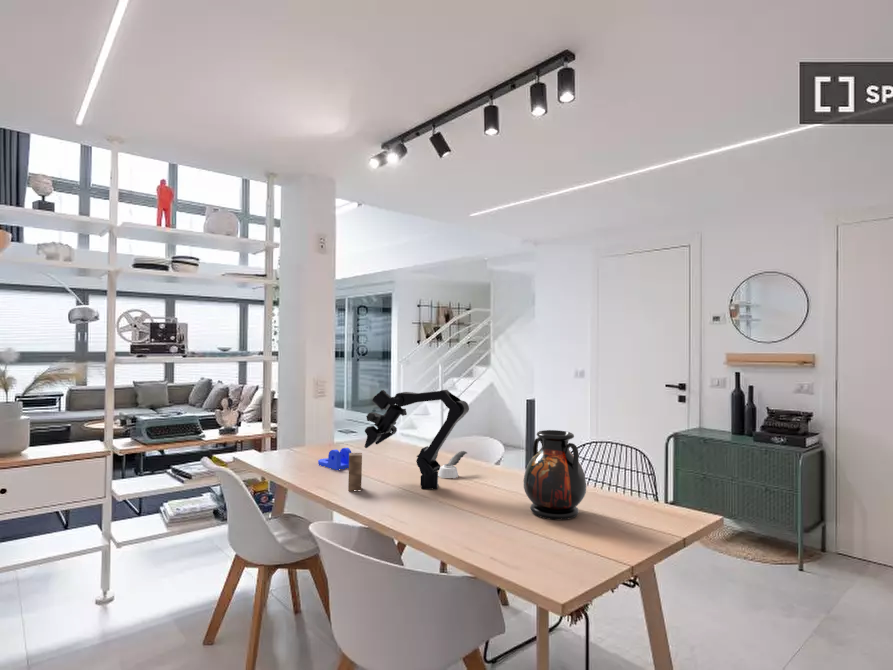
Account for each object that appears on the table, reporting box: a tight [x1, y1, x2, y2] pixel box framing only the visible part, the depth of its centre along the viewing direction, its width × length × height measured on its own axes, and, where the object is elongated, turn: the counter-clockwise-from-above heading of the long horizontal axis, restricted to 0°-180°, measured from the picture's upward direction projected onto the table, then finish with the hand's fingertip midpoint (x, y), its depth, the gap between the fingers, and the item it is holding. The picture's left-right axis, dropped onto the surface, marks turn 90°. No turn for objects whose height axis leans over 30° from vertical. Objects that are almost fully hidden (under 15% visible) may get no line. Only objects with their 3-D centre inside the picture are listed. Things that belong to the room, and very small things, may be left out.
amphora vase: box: [522, 429, 587, 520], centre depth 182 cm, size 22×22×28 cm
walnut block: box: [347, 452, 363, 492], centre depth 207 cm, size 5×5×14 cm
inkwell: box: [438, 450, 468, 479], centre depth 234 cm, size 9×18×10 cm, turn 141°
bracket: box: [317, 447, 352, 471], centre depth 247 cm, size 18×8×9 cm, turn 47°
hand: (370, 445), depth 222 cm, fingers open, 9 cm apart
